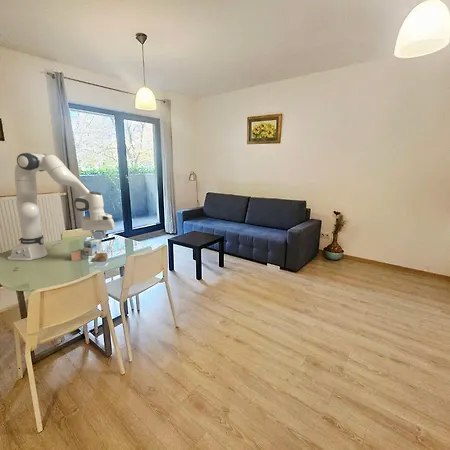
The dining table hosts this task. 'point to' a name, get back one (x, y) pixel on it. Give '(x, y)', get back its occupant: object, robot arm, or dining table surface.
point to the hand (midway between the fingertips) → (99, 236)
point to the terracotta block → (76, 255)
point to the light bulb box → (92, 246)
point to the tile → (101, 264)
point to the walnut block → (100, 257)
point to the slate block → (98, 235)
